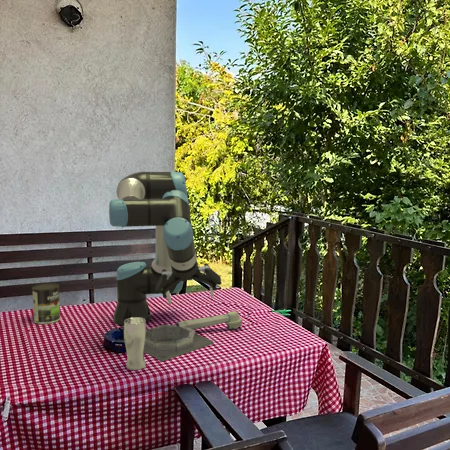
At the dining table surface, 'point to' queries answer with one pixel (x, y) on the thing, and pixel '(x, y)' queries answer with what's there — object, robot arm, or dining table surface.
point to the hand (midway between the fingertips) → (190, 297)
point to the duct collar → (173, 341)
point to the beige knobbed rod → (213, 321)
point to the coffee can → (46, 303)
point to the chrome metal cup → (135, 342)
